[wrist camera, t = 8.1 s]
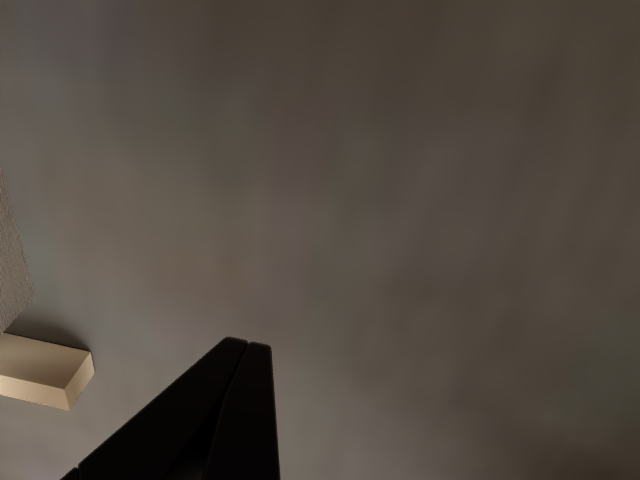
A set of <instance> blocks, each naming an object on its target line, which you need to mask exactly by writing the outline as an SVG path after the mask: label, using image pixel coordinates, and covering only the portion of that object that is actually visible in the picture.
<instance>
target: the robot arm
mask: <svg viewBox="0 0 640 480" xmlns="http://www.w3.org/2000/svg"><path fill="white" fill-rule="evenodd" d="M60 480H280V465H279V451H278V437H277V423H276V408H275V394H274V380H273V365H272V351H271V347H270V346H269V345H267V344H262V343H257V342H250V343H249V344H248V342H247V341H246V340H243V339H239V338H234V337H226V338H224V339H223V340H222V341H220V342H219V343H218V344H217V345H216V346H215V347H213V348H212V349H211V350H210V351H209V352H208V353H206V354H205V355H204V356H203V357H202V358H201V359H200V360H198V361H197V362H196V363H195V364H194V365H193V366H191V367H190V368H189V369H188V370H187V371H186V372H184V373H183V374H182V375H181V376H180V377H179V378H178V379H176V380H175V381H174V382H173V383H172V384H171V385H169V386H168V387H167V388H166V389H165V390H164V391H162V392H161V393H160V394H159V395H158V396H157V397H155V398H154V399H153V400H152V401H151V402H150V403H149V404H147V405H146V406H145V407H144V408H143V409H142V410H140V411H139V412H138V413H137V414H136V415H135V416H133V417H132V418H131V419H130V420H129V421H128V422H126V423H125V424H124V425H123V426H122V427H121V428H120V429H118V430H117V431H116V432H115V433H114V434H113V435H111V436H110V437H109V438H108V439H107V440H106V441H104V442H103V443H102V444H101V445H100V446H99V447H98V448H96V449H95V450H94V451H93V452H92V453H91V454H89V455H88V456H87V457H86V458H85V459H84V460H82V461H81V462H80V463H79V464H78V468H76V467H74V468H73V469H72V470H71V471H69V472H68V473H67V474H66V475H65V476H64V477H62V478H61V479H60Z"/></svg>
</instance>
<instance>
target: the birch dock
mask: <svg viewBox="0 0 640 480" xmlns="http://www.w3.org/2000/svg"><path fill="white" fill-rule="evenodd" d="M94 373H95V372H94V367H93V362H92V357H91V352H88V351H84V350H79V349H75V348H70V347H66V346H61V345H57V344H52V343H48V342H43V341H39V340H34V339H30V338H25V337H20V336H16V335H11V334H7V333H2V334H1V335H0V395H4V396H9V397H13V398H17V399H22V400H26V401H30V402H34V403H39V404H43V405H47V406H52V407H56V408H60V409H65V410H69V411H70V410H71V408H72V406H73V405H74V403H75V402H76V400H77V399H78V397H79V396H80V394H81V393H82V391H83V390H84V388H85V387H86V385H87V384H88V382H89V381H90V379H91V378H92V376H93V375H94Z"/></svg>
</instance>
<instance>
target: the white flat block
mask: <svg viewBox="0 0 640 480" xmlns="http://www.w3.org/2000/svg"><path fill="white" fill-rule="evenodd" d="M34 298H35V293H34V289H33V285H32V282H31V278H30V274H29V270H28V266H27V263H26V259H25V255H24V251H23V248H22V244H21V240H20V236H19V233H18V229H17V225H16V221H15V218H14V214H13V210H12V206H11V203H10V199H9V195H8V191H7V188H6V184H5V180H4V176H3V173H2V169H1V165H0V335H1V334H2V333H3V332H4V331H5V329H6V328H7V327H8V326H9V325H10V324H11V323H12V322H13V321H14V320H15V318H16V317H17V316H18V315H19V314H20V313H21V312H22V311H23V310H24V309H25V307H26V306H27V305H28V304H29V303H30V302H31V301H32V300H33V299H34Z"/></svg>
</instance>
